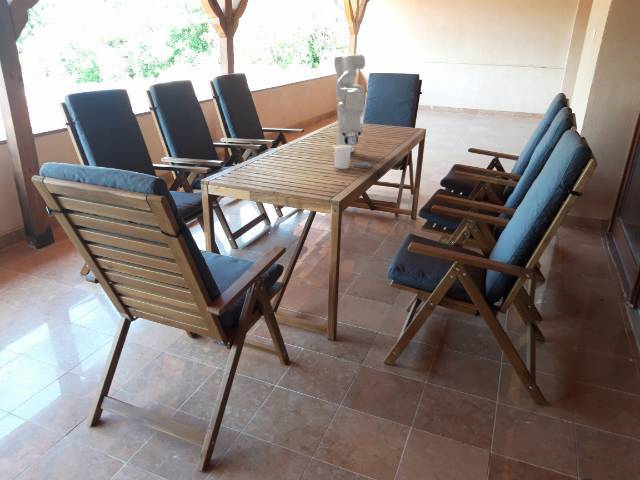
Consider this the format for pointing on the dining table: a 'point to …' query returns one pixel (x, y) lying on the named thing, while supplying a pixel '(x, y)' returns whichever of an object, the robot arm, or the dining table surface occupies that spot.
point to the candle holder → (342, 156)
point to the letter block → (351, 139)
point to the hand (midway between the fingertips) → (351, 143)
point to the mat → (362, 165)
